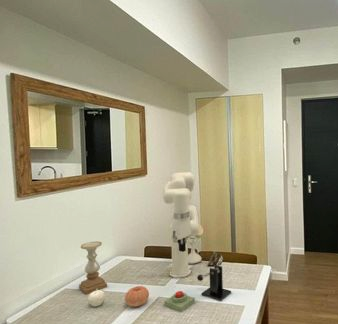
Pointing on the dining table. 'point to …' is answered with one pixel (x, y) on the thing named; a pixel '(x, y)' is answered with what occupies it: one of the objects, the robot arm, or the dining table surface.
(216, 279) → the bracket
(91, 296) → the plain white apple
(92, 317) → the dining table surface
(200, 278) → the lever
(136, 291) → the orange pumpkin
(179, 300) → the control block
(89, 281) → the candle holder
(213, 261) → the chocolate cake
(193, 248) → the flower in vase
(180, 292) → the button
